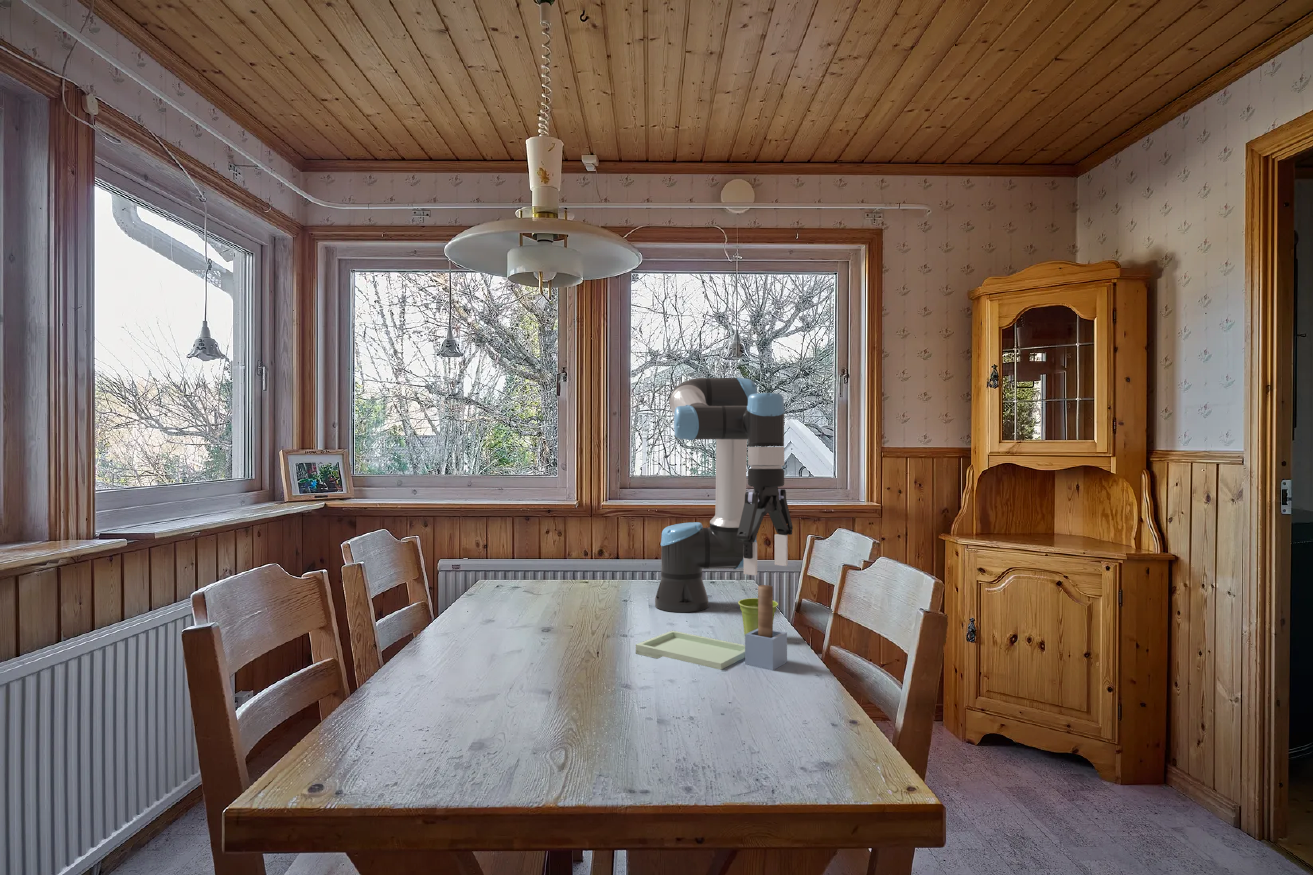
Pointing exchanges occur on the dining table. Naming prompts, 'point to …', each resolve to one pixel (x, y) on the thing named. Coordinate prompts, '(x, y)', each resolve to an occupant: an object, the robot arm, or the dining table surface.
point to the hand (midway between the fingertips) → (766, 569)
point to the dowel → (765, 611)
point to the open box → (766, 650)
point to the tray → (692, 649)
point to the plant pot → (751, 613)
